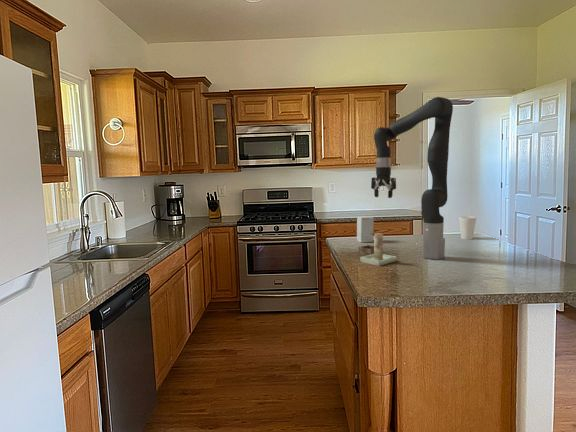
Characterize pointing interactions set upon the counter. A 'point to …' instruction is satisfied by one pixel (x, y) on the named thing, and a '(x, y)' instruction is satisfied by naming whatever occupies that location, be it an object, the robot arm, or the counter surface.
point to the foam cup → (467, 226)
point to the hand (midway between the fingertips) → (383, 197)
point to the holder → (366, 250)
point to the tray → (371, 260)
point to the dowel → (378, 246)
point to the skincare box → (365, 229)
